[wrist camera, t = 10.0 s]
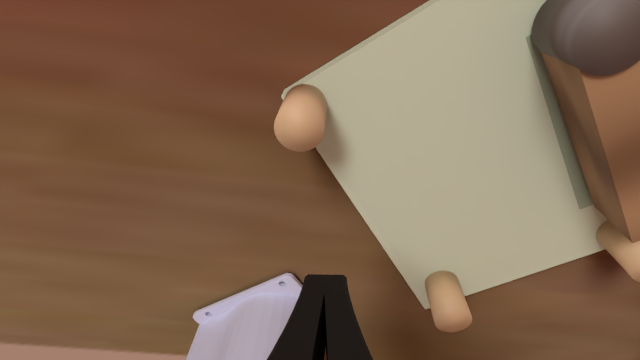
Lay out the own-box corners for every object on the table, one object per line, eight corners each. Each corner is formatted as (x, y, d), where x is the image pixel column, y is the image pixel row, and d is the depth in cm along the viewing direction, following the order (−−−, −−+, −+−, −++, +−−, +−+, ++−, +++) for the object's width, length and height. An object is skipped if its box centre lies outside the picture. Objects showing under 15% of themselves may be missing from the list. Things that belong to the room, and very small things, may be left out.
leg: (522, 12, 15) (563, 22, 12) (594, -31, 14) (654, -29, 11) (592, 208, 20) (632, 247, 17) (648, 185, 19) (700, 223, 16)
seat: (418, 297, 27) (430, 349, 23) (278, 90, 19) (264, 120, 15) (634, 222, 22) (690, 272, 19) (564, -86, 15) (636, -101, 11)
